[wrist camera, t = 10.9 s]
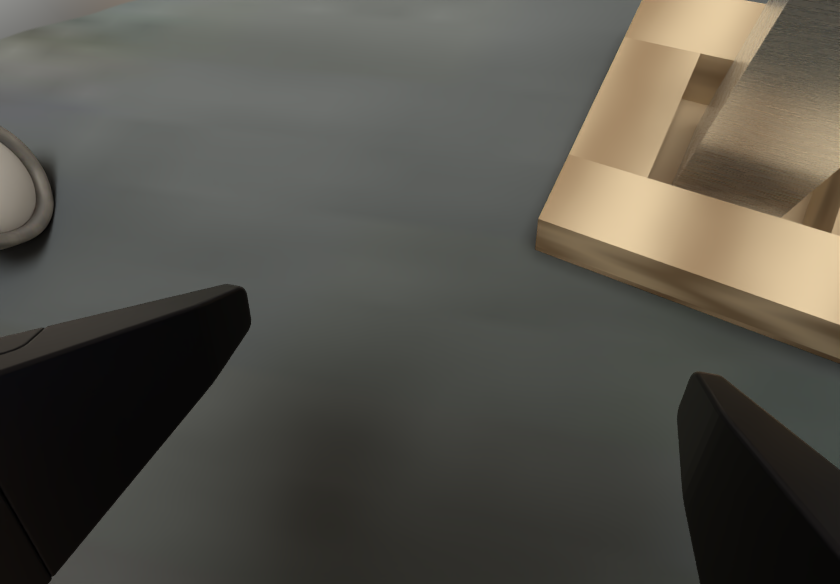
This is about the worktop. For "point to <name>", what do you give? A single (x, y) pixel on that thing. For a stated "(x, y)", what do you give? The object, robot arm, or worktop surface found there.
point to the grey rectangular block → (773, 113)
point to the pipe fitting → (21, 193)
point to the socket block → (685, 210)
